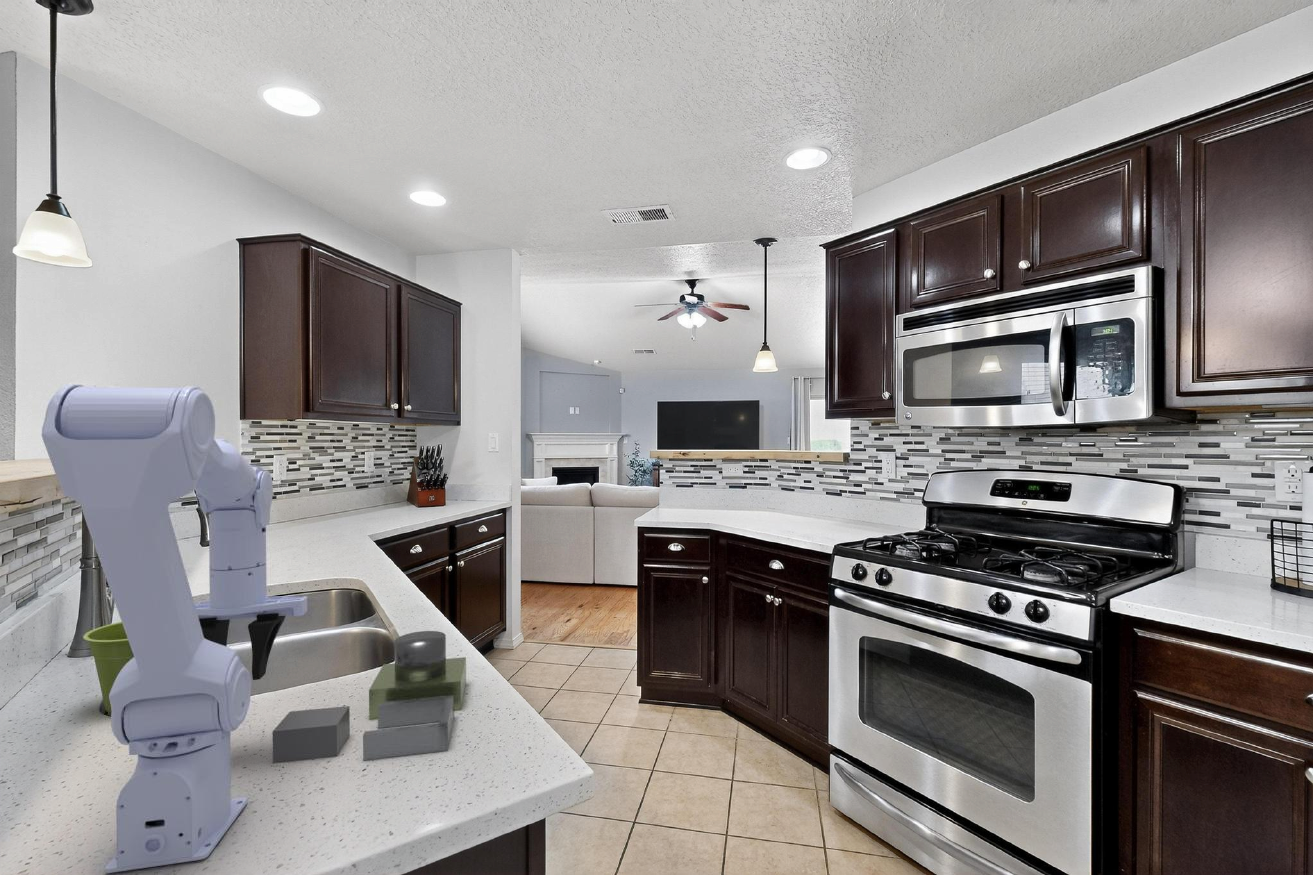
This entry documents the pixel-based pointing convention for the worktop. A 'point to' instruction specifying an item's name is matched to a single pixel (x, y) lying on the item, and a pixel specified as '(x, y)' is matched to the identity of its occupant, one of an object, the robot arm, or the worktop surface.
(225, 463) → the robot arm
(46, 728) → the worktop surface
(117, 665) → the plant pot
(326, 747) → the grey block
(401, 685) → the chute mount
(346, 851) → the worktop surface
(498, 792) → the worktop surface
